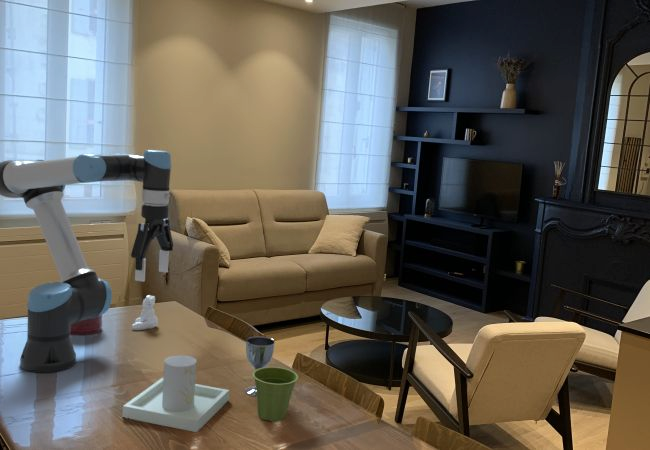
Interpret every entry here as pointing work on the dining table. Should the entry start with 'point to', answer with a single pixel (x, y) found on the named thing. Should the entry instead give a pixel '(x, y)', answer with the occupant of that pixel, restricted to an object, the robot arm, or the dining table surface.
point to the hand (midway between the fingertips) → (151, 276)
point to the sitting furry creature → (146, 315)
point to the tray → (193, 419)
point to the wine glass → (258, 355)
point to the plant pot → (274, 391)
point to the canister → (87, 326)
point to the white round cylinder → (179, 383)
